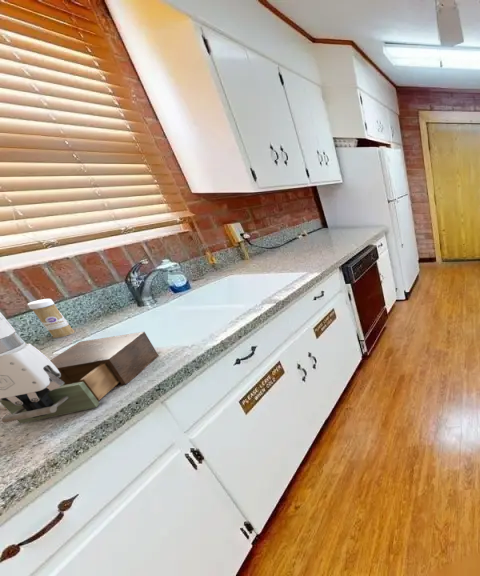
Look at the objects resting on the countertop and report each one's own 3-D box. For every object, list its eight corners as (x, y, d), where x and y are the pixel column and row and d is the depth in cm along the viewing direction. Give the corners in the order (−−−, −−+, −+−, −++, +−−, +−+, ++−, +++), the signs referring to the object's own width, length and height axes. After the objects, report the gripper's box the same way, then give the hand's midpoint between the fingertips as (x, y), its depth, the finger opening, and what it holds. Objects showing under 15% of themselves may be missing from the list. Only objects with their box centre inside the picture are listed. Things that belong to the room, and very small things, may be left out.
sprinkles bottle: (56, 339, 101) (29, 304, 95) (51, 337, 102) (24, 303, 97) (78, 332, 104) (53, 299, 99) (72, 330, 106) (48, 297, 101)
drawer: (80, 422, 69) (60, 398, 66) (-3, 440, 64) (-28, 416, 61) (133, 373, 84) (119, 352, 81) (69, 385, 79) (52, 364, 76)
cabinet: (127, 385, 81) (108, 359, 77) (53, 400, 76) (30, 372, 72) (159, 355, 93) (144, 331, 89) (97, 366, 88) (79, 341, 84)
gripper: (-97, 367, 54) (-24, 436, 62) (25, 348, 60) (79, 413, 68) (-49, 345, 61) (12, 410, 68) (58, 330, 66) (103, 392, 74)
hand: (45, 412), depth 68 cm, fingers closed
